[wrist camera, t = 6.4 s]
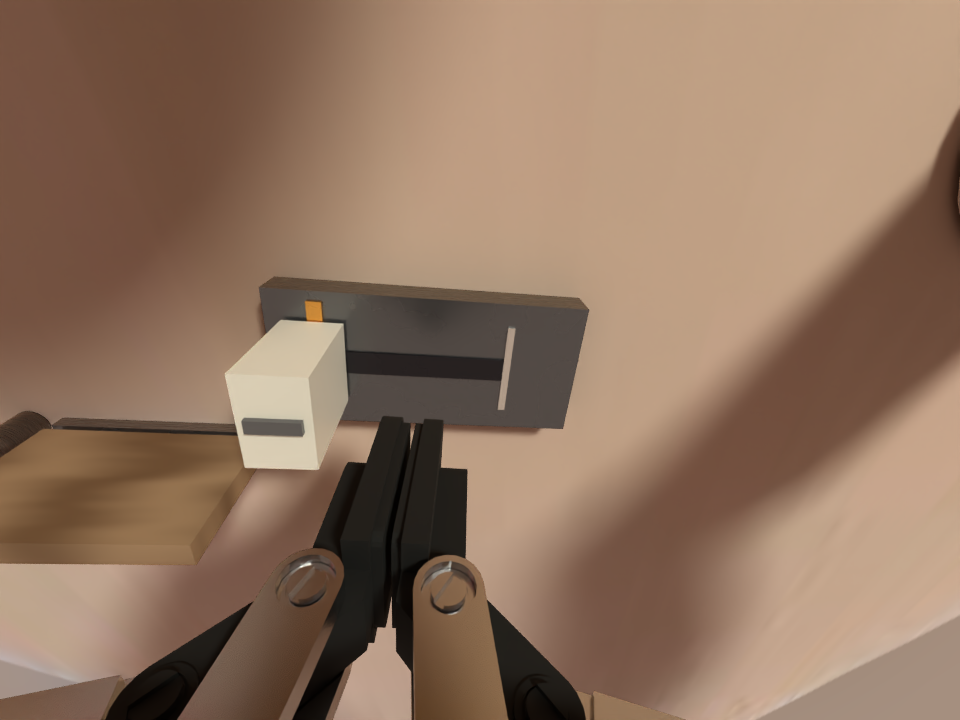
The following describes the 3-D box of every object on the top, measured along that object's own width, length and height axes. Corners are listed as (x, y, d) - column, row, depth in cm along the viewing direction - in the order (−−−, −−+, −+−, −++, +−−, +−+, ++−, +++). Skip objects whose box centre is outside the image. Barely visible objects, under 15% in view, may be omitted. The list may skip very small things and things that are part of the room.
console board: (579, 298, 18) (590, 310, 17) (555, 411, 21) (563, 430, 19) (274, 276, 17) (257, 288, 16) (291, 399, 20) (277, 418, 18)
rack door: (262, 436, 19) (190, 545, 14) (266, 456, 20) (197, 567, 14) (43, 428, 18) (-125, 541, 13) (52, 448, 19) (-106, 565, 14)
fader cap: (343, 323, 16) (306, 381, 12) (348, 400, 18) (316, 474, 14) (280, 319, 16) (221, 377, 12) (291, 397, 18) (241, 472, 14)
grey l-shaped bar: (270, 420, 20) (179, 554, 13) (274, 443, 21) (189, 581, 14) (11, 410, 19) (-228, 550, 12) (23, 434, 20) (-198, 580, 13)
